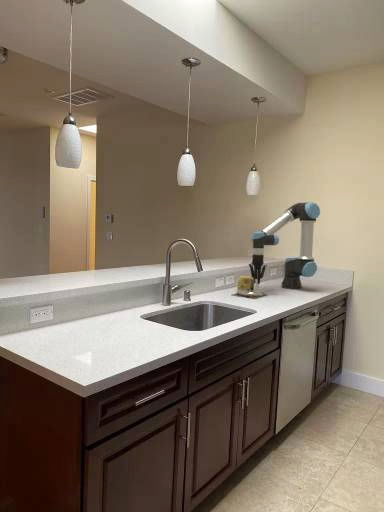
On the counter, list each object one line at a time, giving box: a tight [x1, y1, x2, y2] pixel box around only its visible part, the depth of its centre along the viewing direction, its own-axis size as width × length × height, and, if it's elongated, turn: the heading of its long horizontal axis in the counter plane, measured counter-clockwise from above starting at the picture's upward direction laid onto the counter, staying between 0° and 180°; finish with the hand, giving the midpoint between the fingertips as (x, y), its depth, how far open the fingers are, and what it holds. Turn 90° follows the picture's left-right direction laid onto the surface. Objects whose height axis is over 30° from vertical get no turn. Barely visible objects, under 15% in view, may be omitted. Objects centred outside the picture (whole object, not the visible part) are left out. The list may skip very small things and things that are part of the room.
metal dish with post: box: [236, 279, 265, 297], centre depth 263 cm, size 18×18×9 cm
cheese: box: [236, 275, 255, 291], centre depth 282 cm, size 10×11×10 cm
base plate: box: [231, 292, 269, 300], centre depth 264 cm, size 19×18×1 cm
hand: (257, 288), depth 268 cm, fingers closed
